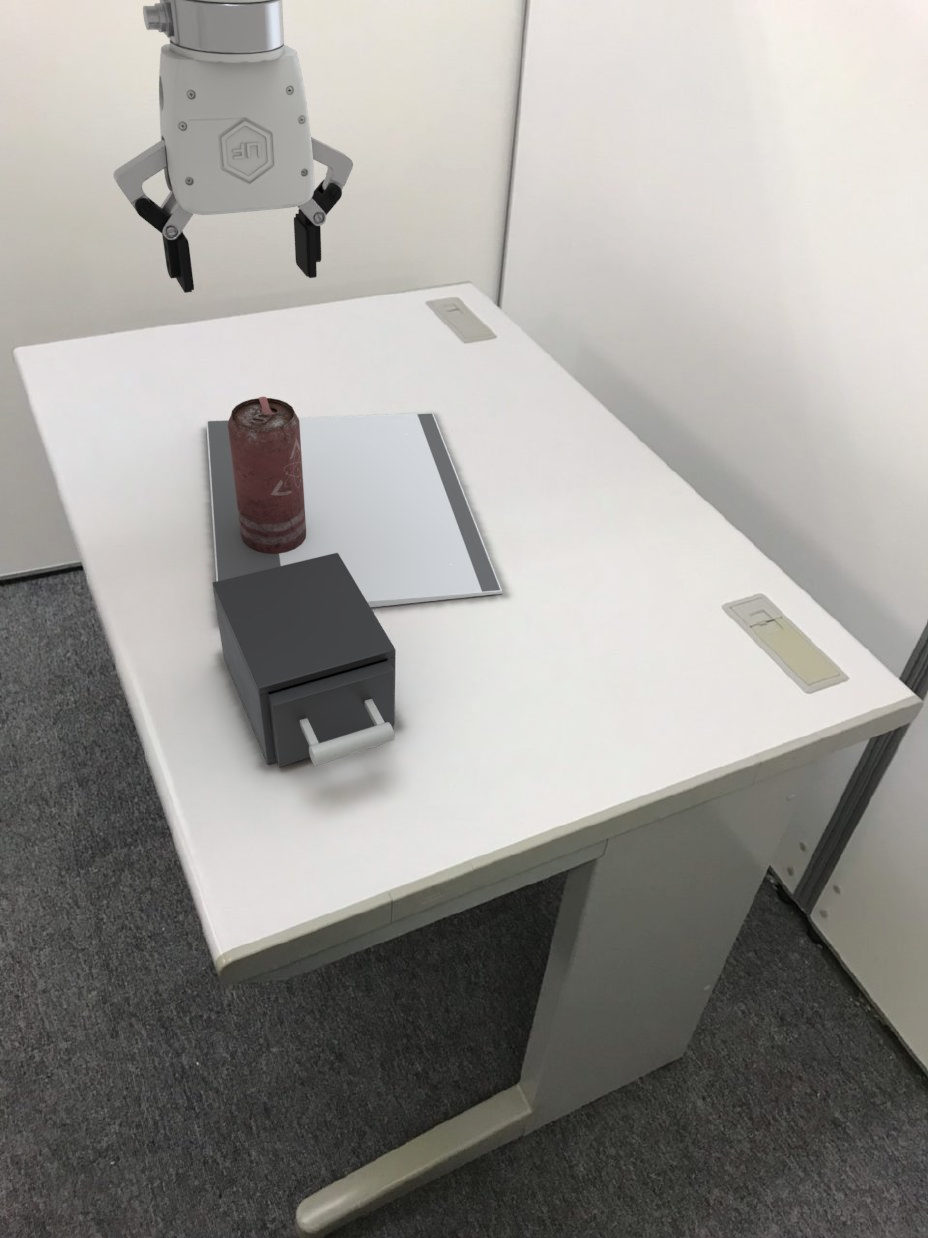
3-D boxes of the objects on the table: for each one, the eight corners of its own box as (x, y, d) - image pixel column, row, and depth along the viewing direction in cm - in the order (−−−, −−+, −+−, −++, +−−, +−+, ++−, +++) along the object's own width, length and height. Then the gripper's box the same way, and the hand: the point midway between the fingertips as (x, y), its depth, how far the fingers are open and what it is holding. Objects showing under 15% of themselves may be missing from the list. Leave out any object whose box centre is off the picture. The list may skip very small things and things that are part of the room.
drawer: (414, 768, 73) (416, 708, 68) (296, 807, 70) (290, 746, 65) (342, 637, 83) (340, 577, 78) (236, 666, 80) (228, 605, 75)
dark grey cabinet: (394, 725, 77) (396, 649, 71) (267, 765, 73) (258, 688, 68) (340, 627, 85) (337, 551, 79) (223, 658, 81) (212, 582, 76)
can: (297, 515, 96) (288, 389, 87) (313, 554, 92) (305, 425, 82) (236, 526, 94) (220, 397, 85) (249, 565, 90) (234, 435, 81)
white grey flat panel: (501, 593, 89) (503, 583, 89) (219, 623, 84) (218, 613, 84) (432, 414, 112) (433, 405, 111) (207, 429, 107) (206, 420, 106)
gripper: (101, 41, 59) (144, 312, 70) (368, 35, 65) (368, 284, 76) (80, 15, 64) (123, 272, 75) (330, 11, 70) (335, 249, 81)
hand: (246, 278), depth 75 cm, fingers open, 9 cm apart
